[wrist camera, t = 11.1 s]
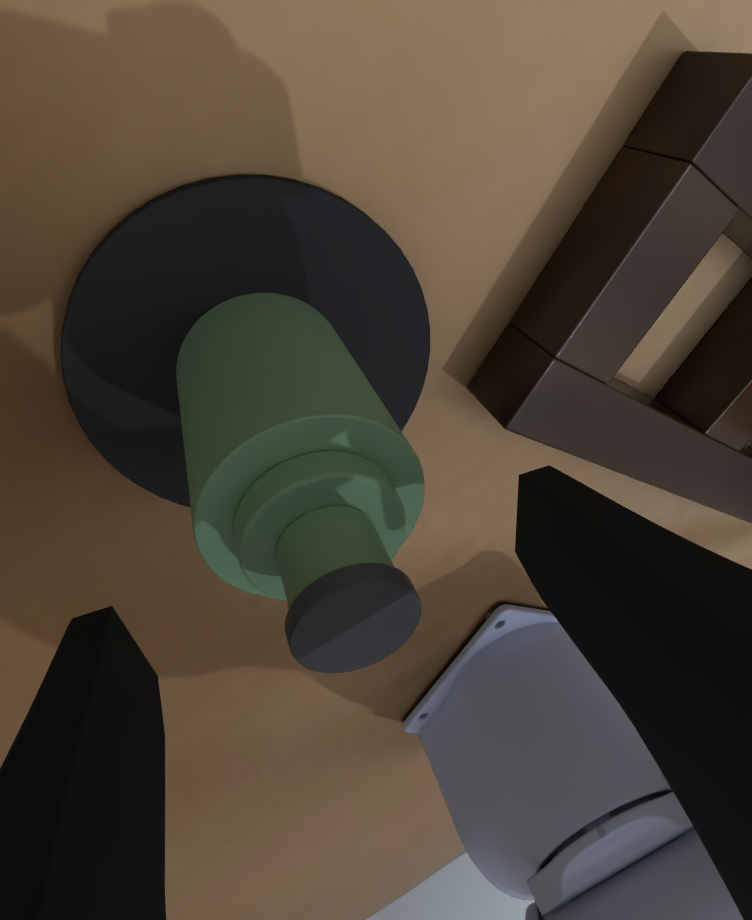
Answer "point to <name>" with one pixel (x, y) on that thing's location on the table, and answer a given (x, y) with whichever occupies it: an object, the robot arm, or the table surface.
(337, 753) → the table surface
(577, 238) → the bottle holder
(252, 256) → the coaster
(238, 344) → the green bottle
